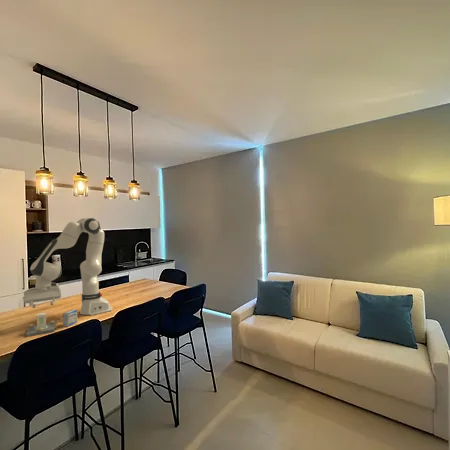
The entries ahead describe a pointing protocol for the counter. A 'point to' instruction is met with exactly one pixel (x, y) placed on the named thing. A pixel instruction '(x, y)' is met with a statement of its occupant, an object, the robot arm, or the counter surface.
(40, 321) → the block
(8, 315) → the counter surface
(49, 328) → the levelling base
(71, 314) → the medicine box
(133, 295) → the counter surface
